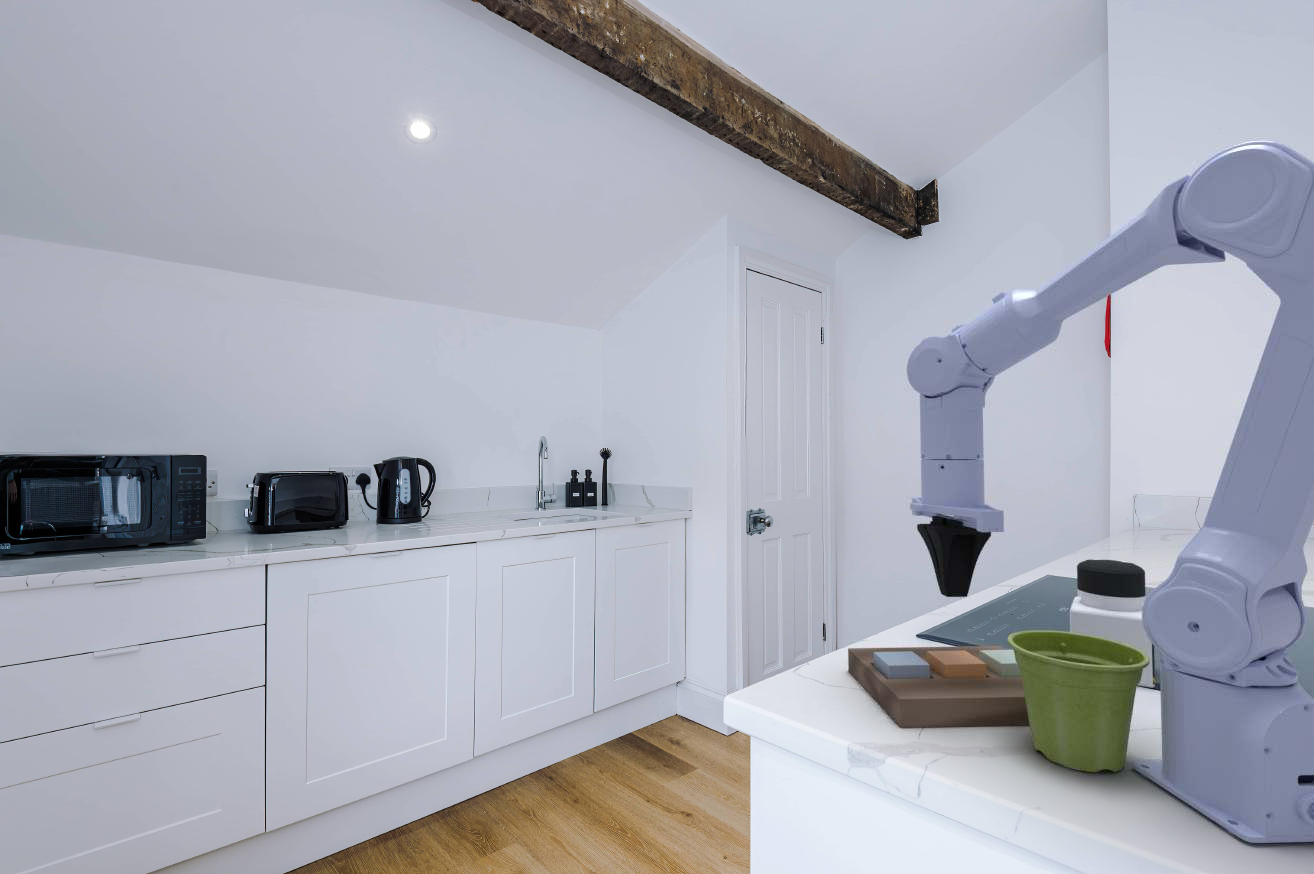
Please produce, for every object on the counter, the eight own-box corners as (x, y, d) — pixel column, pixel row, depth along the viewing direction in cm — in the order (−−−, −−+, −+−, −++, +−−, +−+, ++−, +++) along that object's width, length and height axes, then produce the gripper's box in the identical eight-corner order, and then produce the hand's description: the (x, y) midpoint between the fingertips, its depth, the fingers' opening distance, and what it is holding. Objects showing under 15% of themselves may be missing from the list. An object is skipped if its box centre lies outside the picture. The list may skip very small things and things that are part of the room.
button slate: (930, 689, 60) (929, 664, 60) (889, 690, 60) (888, 665, 60) (912, 674, 64) (912, 651, 64) (873, 675, 64) (873, 651, 64)
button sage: (1043, 687, 60) (1042, 662, 60) (1002, 688, 60) (1001, 663, 60) (1018, 672, 64) (1017, 649, 64) (979, 673, 64) (979, 650, 64)
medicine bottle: (1155, 689, 63) (1152, 570, 63) (1070, 674, 67) (1068, 562, 68) (1153, 669, 69) (1150, 559, 69) (1075, 656, 73) (1073, 553, 73)
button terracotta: (986, 688, 60) (986, 663, 60) (945, 689, 60) (945, 664, 60) (965, 673, 64) (964, 650, 64) (926, 674, 64) (926, 650, 64)
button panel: (1090, 723, 55) (1089, 695, 55) (900, 727, 55) (899, 698, 55) (1000, 668, 69) (999, 645, 69) (848, 670, 69) (848, 648, 69)
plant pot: (1020, 719, 56) (1018, 623, 57) (1153, 750, 50) (1151, 642, 51) (998, 759, 49) (996, 649, 49) (1151, 801, 43) (1148, 675, 43)
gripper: (884, 458, 70) (886, 580, 70) (947, 461, 55) (949, 615, 55) (946, 457, 70) (948, 579, 70) (1025, 460, 55) (1028, 614, 55)
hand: (953, 595), depth 62 cm, fingers closed
